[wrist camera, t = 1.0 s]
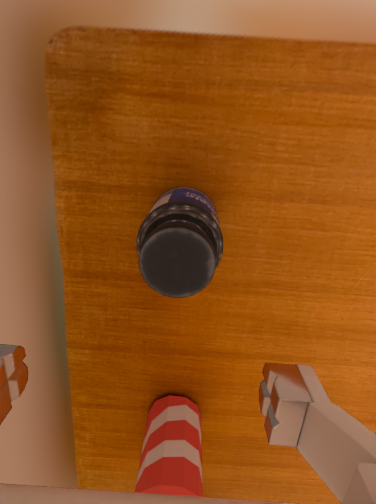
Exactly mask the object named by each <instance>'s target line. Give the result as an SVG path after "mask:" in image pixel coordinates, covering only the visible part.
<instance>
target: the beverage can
mask: <svg viewBox="0 0 376 504" xmlns="http://www.w3.org/2000/svg"><path fill="white" fill-rule="evenodd" d="M135 493H150V494H165V495H180V496H195V497H203V494H202V447H201V416H200V412H199V408H198V406H197V405H196V404H195V403H193V402H192V401H191V400H189V399H188V398H186V397H180V396H171V395H169V396H166V397H164V398H161V399H159V400H156V401H155V402H154V403H153V405H152V407H151V409H150V410H149V412H148V418H147V424H146V430H145V436H144V442H143V448H142V454H141V460H140V466H139V472H138V478H137V484H136V490H135Z"/></svg>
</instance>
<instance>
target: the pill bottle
mask: <svg viewBox="0 0 376 504" xmlns="http://www.w3.org/2000/svg"><path fill="white" fill-rule="evenodd" d="M136 242H137V252H138V256H139V268H140V271H141V275H142V276H143V278H144V280H145V282H146V283H147V284H148V285H149V286H150V287H151V288H152V289H153V290H155V291H156V292H158V293H160V294H162V295H164V296H168V297H173V298H183V297H188V296H192V295H194V294H196V293H198V292H200V291H201V290H203V289H204V288H205V287H206V286H207V285H208V284H209V282H210V281H211V279H212V277H213V275H214V271H215V269H216V267H217V266H218V264H219V262H220V260H221V257H222V253H223V237H222V233H221V229H220V225H219V221H218V217H217V213H216V209H215V207H214V205H213V203H212V201H211V200H210V198H209V197H208V196H206V195H205V194H204V193H203V192H201V191H200V190H198V189H195V188H187V187H176V188H173V189H170V190H168V191H166V192H165V193H164V194H162V195H161V196H160V197H159V198H158V199H157V201H156V202H155V204H154V206H153V207H152V209H151V210H150V212H149V214H148V215H147V217H146V218H145V220H144V221H143V223H142V225H141V226H140V229H139V232H138V236H137V241H136Z"/></svg>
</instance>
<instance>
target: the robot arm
mask: <svg viewBox="0 0 376 504" xmlns="http://www.w3.org/2000/svg"><path fill="white" fill-rule="evenodd" d="M25 356H26V354H25V349H24V347H22V346H16V345H5V344H0V424H1V423H2V422H3V420H4V419H5V417H6V415H7V414H8V413H9V411H10V410H11V408H12V405H11V401H13V400H15V399H16V398H18V397H19V396H20V395H21V394H22V392H23V390H24V389H25V386H26V383H27V380H28V367H27V366H26V365H25V364H24V362H23V361H22V360H23V359H24V358H25ZM262 373H263V376H264V380H263V381H262V382H261V383H260V388H259V403H260V409H261V413H262V414H263V415H264V416H265V417H266V419H265V424H264V426H265V430H266V434H267V438H268V442H269V445H280V446H290V447H297V450H298V451H299V452H300V453H301V455H302V456H303V457H304V458H305V459H306V461H307V462H308V463H309V464H310V465H311V467H312V468H313V469H314V470H315V472H316V473H317V474H318V475H319V476H320V478H321V479H322V480H323V481H324V482H325V484H326V485H327V486H328V487H329V489H330V490H331V491H332V492H333V493H334V495H335V496H336V497H337V498H338V499H339V501H340V502H341V503H342V504H376V434H374V433H373V432H372V431H371V430H369V429H368V428H367V427H365V426H364V425H363V424H361V423H360V422H359V421H358V420H356V419H355V418H354V417H352V416H351V415H350V414H348V413H347V412H346V411H345V410H343V409H342V408H341V407H339V406H338V405H337V404H332V403H331V401H330V400H329V398H328V396H327V394H326V392H325V390H324V388H323V386H322V384H321V382H320V380H319V379H318V377H317V375H316V373H315V371H314V369H313V367H312V366H311V365H301V364H295V365H293V364H277V363H265V364H264V367H263V372H262ZM0 504H299V503H285V502H270V501H255V500H240V499H225V498H210V497H195V496H180V495H165V494H150V493H135V492H121V491H106V490H91V489H76V488H61V487H47V486H32V485H16V484H2V483H0Z"/></svg>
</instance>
